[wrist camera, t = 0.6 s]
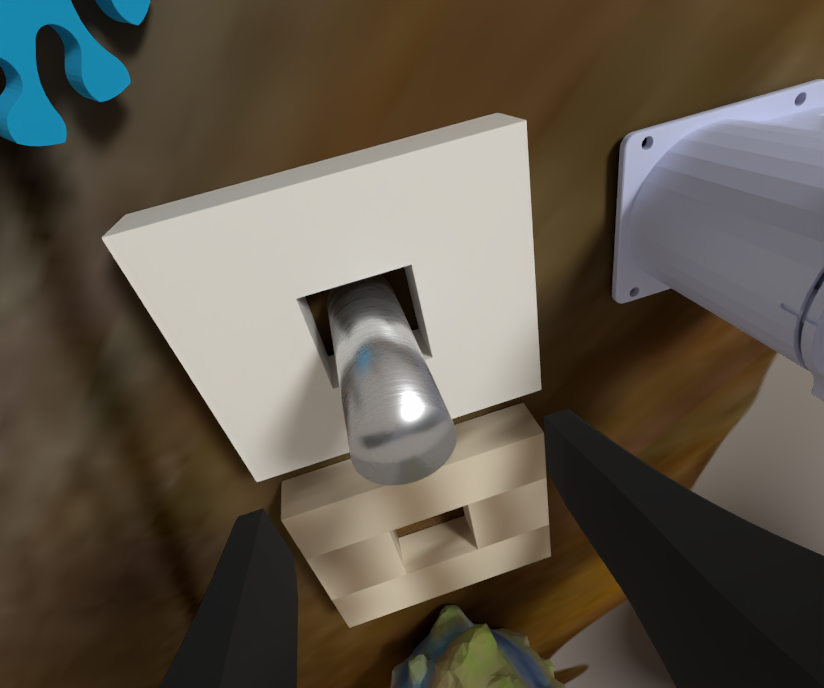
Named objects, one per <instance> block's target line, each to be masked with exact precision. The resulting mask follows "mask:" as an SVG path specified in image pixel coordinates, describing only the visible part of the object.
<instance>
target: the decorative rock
mask: <svg viewBox="0 0 824 688" xmlns="http://www.w3.org/2000/svg"><path fill="white" fill-rule="evenodd" d="M553 669H554V665H553V663H552V662H551V660H550V659H543V658H540V657H539V656H538V654H537V653H536V652H535V651H534V650H533V649H531V647H530V645H529V641H528V638H527V635H526V634H523V633H518V632H517V633H513V631H511V630H508V629H504V628H500V629H496V630H492V629H490V628H488V626H487V624H473V623H472V622H471V621H470V620H469V619H468V618H467V617H466V616H465V615H464V613H463V612H462V610H461V609H460V608H459V607H458V606H454V605H446V606H445V607H444V608H443V609H442V610H441V611H440V615H439V617H438V619H437V621H436V622H435V623H434V626H433V628H432V629H431V632H430V634H429V635H428V636H427V637H426V638H425V639H424V640H423V641H422V642H421V643H420V644H419V645H418V646H417V647H416V648H415V649H414V651H413V652H412V654H411V655H410V657H408V658H407V659H406V660H405V661H404V662H402V663H400V664H398V665H396V666H395V667H394V669H393V670H392V681H391V688H565V685H564V684H562V683H561V682H559V681H557V680H556V679H554V673H553Z"/></svg>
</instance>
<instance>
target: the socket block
mask: <svg viewBox="0 0 824 688" xmlns="http://www.w3.org/2000/svg"><path fill="white" fill-rule="evenodd" d="M102 240H103V241H104V243H105V245H106V246H107V248H108V249H109V251H110V252H111V254H112V256H113V257H114V259H115V260H116V262H117V263H118V265H119V267H120V268H121V270H122V271H123V273H124V274H125V276H126V278H127V279H128V281H129V282H130V284H131V285H132V287H133V289H134V290H135V292H136V293H137V295H138V296H139V298H140V300H141V301H142V303H143V304H144V306H145V307H146V309H147V311H148V312H149V314H150V315H151V317H152V318H153V320H154V322H155V323H156V325H157V326H158V328H159V329H160V331H161V333H162V334H163V336H164V337H165V339H166V340H167V342H168V344H169V345H170V347H171V348H172V350H173V351H174V353H175V355H176V356H177V358H178V359H179V361H180V362H181V364H182V366H183V367H184V369H185V370H186V372H187V373H188V375H189V377H190V378H191V380H192V381H193V383H194V384H195V386H196V388H197V389H198V391H199V392H200V394H201V395H202V397H203V399H204V400H205V402H206V403H207V405H208V406H209V408H210V410H211V411H212V413H213V414H214V416H215V417H216V419H217V421H218V422H219V424H220V425H221V427H222V428H223V430H224V432H225V433H226V435H227V436H228V438H229V439H230V441H231V443H232V444H233V446H234V447H235V449H236V450H237V452H238V454H239V455H240V457H241V458H242V460H243V461H244V463H245V465H246V466H247V468H248V469H249V471H250V472H251V474H252V476H253V477H254V479H255V480H256V482H259V481H263V480H266V479H269V478H272V477H275V476H278V475H281V474H284V473H287V472H290V471H293V470H296V469H299V468H303V467H306V466H309V465H312V464H315V463H318V462H321V461H324V460H327V459H330V458H333V457H336V456H339V455H342V454H346V453H349V452H350V450H349V444H348V437H347V431H346V425H345V418H344V412H343V405H342V399H341V393H340V386H339V380H338V373H337V367H336V361H335V355H331V356H328V354H327V351H326V349H325V346H324V344H323V341H322V339H321V336H320V334H319V331H318V328H317V326H316V323H315V321H314V318H313V316H312V313H311V311H310V308H309V306H308V303H307V301H306V298H305V296H307V295H311V294H314V293H317V292H321V291H324V290H327V289H331V288H334V287H338V286H341V285H344V284H348V283H351V282H354V281H358V280H361V279H365V278H368V277H371V276H375V275H378V274H381V273H385V272H388V271H392V270H395V269H398V268H402V267H404V269H405V273H406V277H407V282H408V286H409V290H410V294H411V298H412V303H413V307H414V311H415V315H416V319H417V324H418V328H419V329H416V330H413V331H412V333H413V335H414V337H415V339H416V341H417V344H418V346H419V348H420V350H421V352H422V355H423V357H424V359H425V361H426V363H427V366H428V368H429V370H430V372H431V374H432V377H433V379H434V381H435V383H436V386H437V388H438V390H439V392H440V394H441V397H442V399H443V401H444V403H445V405H446V408H447V410H448V412H449V414H450V416H451V419H453V418H456V417H459V416H462V415H465V414H469V413H472V412H475V411H478V410H481V409H484V408H487V407H490V406H493V405H496V404H499V403H502V402H505V401H509V400H512V399H515V398H518V397H521V396H524V395H527V394H530V393H533V392H536V391H539V390H541V372H540V355H539V337H538V319H537V301H536V284H535V266H534V248H533V230H532V213H531V195H530V177H529V159H528V142H527V124H526V120H524V119H520V118H516V117H512V116H508V115H504V114H500V113H494V114H491V115H487V116H484V117H480V118H476V119H473V120H469V121H465V122H462V123H458V124H454V125H451V126H447V127H443V128H440V129H436V130H432V131H429V132H425V133H422V134H418V135H414V136H411V137H407V138H403V139H400V140H396V141H392V142H389V143H385V144H381V145H378V146H374V147H370V148H367V149H363V150H360V151H356V152H352V153H349V154H345V155H341V156H338V157H334V158H330V159H327V160H323V161H319V162H316V163H312V164H308V165H305V166H301V167H298V168H294V169H290V170H287V171H283V172H279V173H276V174H272V175H268V176H265V177H261V178H257V179H254V180H250V181H246V182H243V183H239V184H235V185H232V186H228V187H225V188H221V189H217V190H214V191H210V192H206V193H203V194H199V195H195V196H192V197H188V198H184V199H181V200H177V201H173V202H170V203H166V204H163V205H159V206H155V207H152V208H148V209H144V210H141V211H137V212H133V213H130V214H126V215H125V216H124V217H123V218H121V219H120V220H119V221H118V222H117V223H116V224H115V225H114V226H113V227H112V228H111V229H110V230H109V231H108V232H107V233H106V234H105V235H104V236H103V237H102Z"/></svg>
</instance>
